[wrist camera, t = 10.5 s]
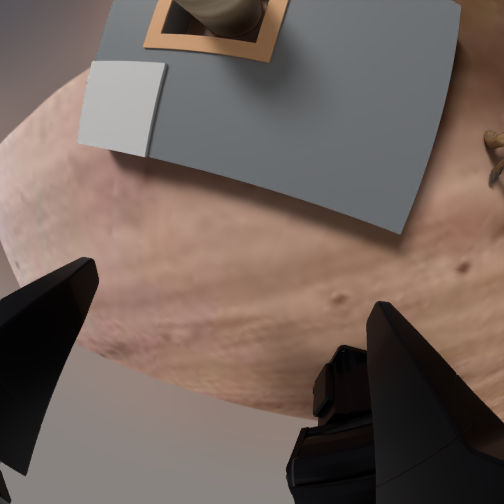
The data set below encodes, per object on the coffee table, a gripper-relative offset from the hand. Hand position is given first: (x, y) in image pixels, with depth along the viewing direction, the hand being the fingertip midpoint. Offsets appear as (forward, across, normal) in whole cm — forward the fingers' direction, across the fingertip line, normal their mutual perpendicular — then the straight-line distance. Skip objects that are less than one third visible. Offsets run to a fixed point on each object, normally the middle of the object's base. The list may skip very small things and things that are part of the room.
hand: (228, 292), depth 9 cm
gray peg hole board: (+14, +1, -7) cm, 16 cm away
